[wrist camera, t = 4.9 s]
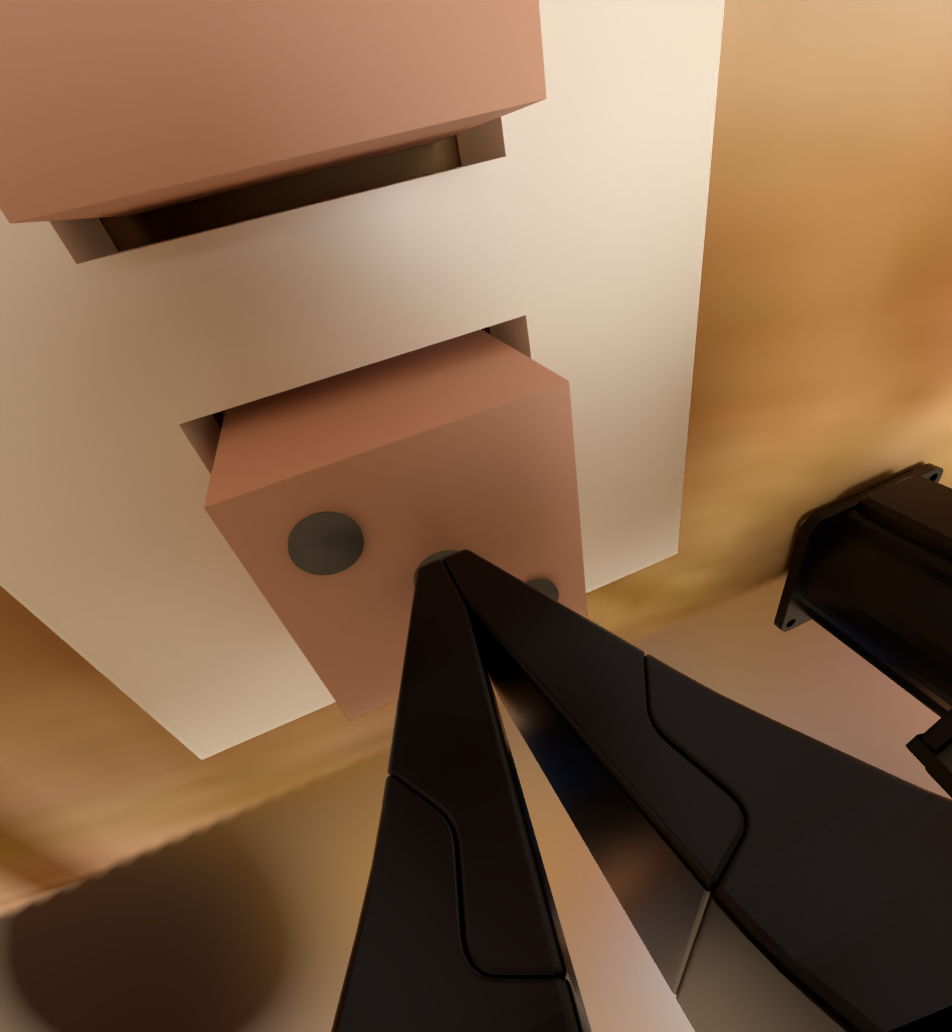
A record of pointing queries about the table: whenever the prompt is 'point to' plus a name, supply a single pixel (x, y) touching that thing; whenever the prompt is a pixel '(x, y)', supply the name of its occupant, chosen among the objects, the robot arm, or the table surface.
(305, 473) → the tile three dots
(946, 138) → the table surface
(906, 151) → the table surface
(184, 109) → the tile one dot
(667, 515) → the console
